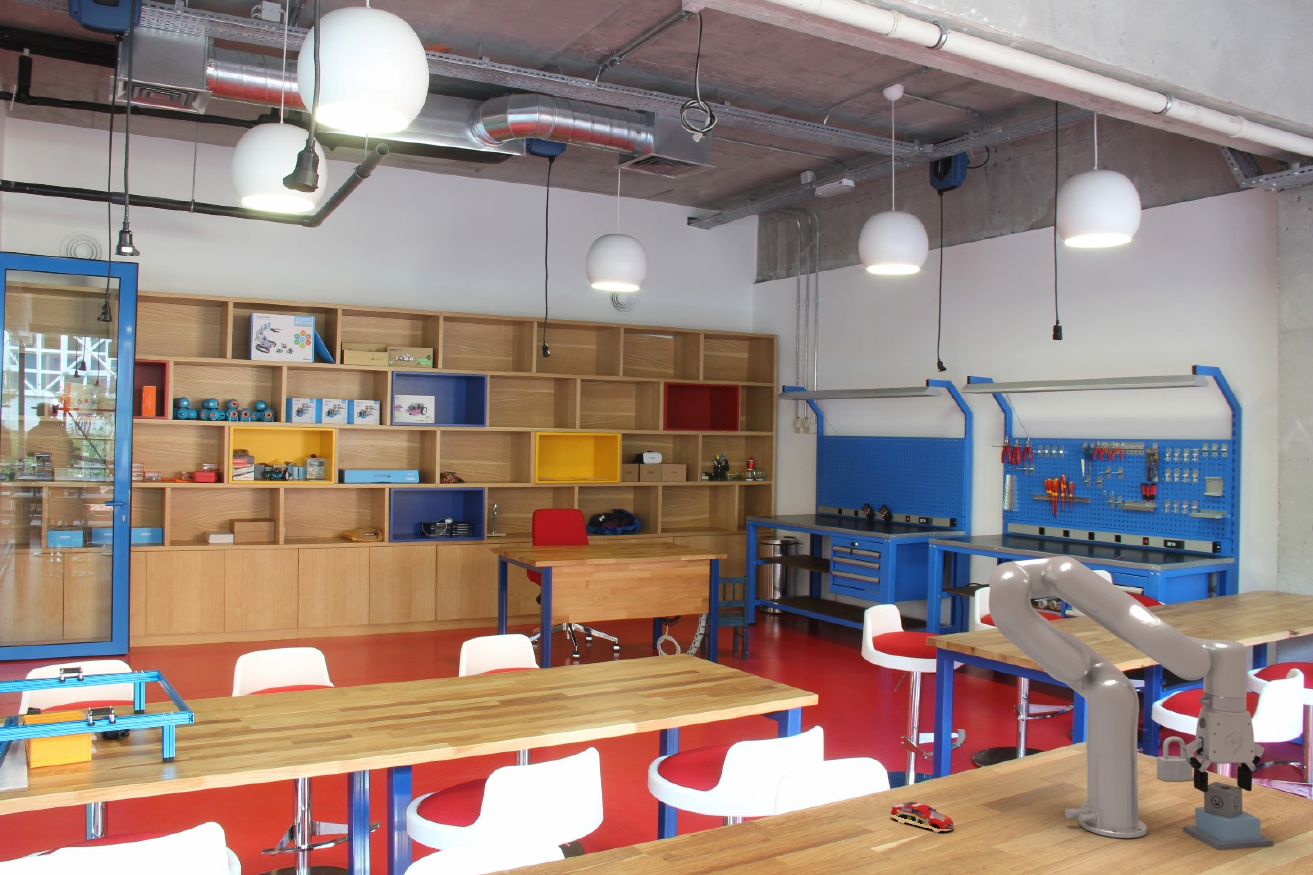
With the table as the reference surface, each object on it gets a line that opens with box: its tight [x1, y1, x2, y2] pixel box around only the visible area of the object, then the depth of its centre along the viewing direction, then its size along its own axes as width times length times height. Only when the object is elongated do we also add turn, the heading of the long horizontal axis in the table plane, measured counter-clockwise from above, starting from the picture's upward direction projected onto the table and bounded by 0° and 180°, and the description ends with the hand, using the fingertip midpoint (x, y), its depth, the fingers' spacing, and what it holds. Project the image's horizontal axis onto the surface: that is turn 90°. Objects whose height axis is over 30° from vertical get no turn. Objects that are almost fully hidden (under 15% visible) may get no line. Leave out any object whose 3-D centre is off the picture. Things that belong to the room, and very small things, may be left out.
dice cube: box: [1203, 781, 1243, 819], centre depth 201 cm, size 5×5×5 cm
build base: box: [1182, 806, 1275, 851], centre depth 201 cm, size 12×10×5 cm
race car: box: [890, 801, 954, 830], centre depth 209 cm, size 13×5×4 cm, turn 46°
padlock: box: [1156, 736, 1193, 782], centre depth 239 cm, size 7×4×10 cm, turn 95°
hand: (1222, 789), depth 201 cm, fingers open, 9 cm apart
